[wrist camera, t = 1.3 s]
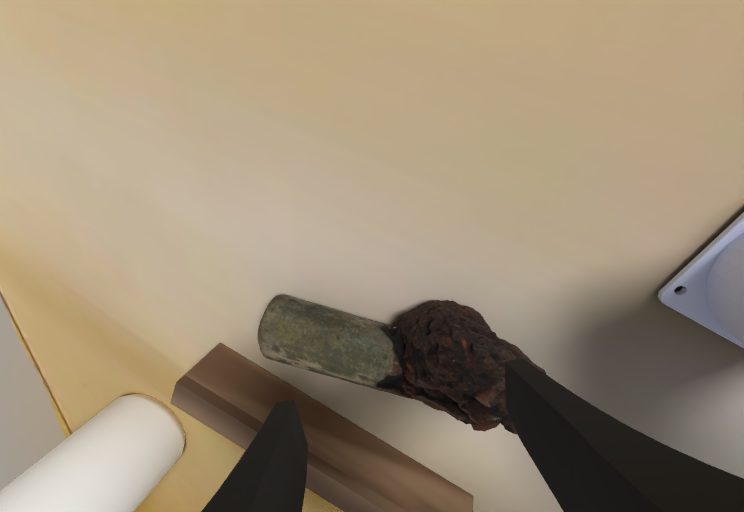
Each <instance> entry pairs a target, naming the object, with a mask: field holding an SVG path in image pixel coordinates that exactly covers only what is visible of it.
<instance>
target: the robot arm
mask: <svg viewBox="0 0 744 512" xmlns="http://www.w3.org/2000/svg"><path fill="white" fill-rule="evenodd" d="M678 286H682V289H681V290H680V291H677V292H674V290H675V288H676V287H678ZM658 298H659V300H660V301H661V302H662V303H663V304H665V305H666V306H668V307H670V308H672V309H674V310H675V311H677V312H679V313H681V314H683V315H684V316H686V317H688V318H690V319H692V320H693V321H695V322H697V323H699V324H701V325H702V326H704V327H706V328H708V329H710V330H711V331H713V332H715V333H717V334H719V335H720V336H722V337H724V338H726V339H728V340H729V341H731V342H733V343H735V344H737V345H738V346H740V347H742V348H744V212H743V213H742V214H741V215H740V216H739V217H738V218H737V219H736V220H735V221H734V222H733V223H731V224H730V225H729V226H728V227H727V228H726V229H725V230H724V231H723V232H722V233H721V234H720V235H719V236H718V237H716V238H715V239H714V240H713V241H712V242H711V243H710V244H709V245H708V246H707V247H706V248H705V249H704V250H703V251H702V252H700V253H699V254H698V255H697V256H696V257H695V258H694V259H693V260H692V261H691V262H690V263H689V264H688V265H687V266H685V267H684V268H683V269H682V270H681V271H680V272H679V273H678V274H677V275H676V276H675V277H674V278H673V279H672V280H670V281H669V282H668V283H667V284H666V285H665V286H664V287H663V288H662V289H661V290H660V291H659V293H658ZM505 391H506V409H507V412H508V414H509V416H510V418H511V421H512V423H513V425H514V427H515V429H516V431H517V434H518V436H519V438H520V439H521V441H522V443H523V445H524V446H525V448H526V450H527V451H528V453H529V455H530V456H531V458H532V460H533V461H534V463H535V465H536V466H537V468H538V470H539V471H540V473H541V475H542V476H543V478H544V480H545V481H546V483H547V484H548V486H549V488H550V489H551V491H552V493H553V494H554V496H555V498H556V499H557V501H558V503H559V504H560V506H561V508H562V509H563V511H564V512H744V479H743V478H740V477H738V476H735V475H733V474H730V473H728V472H725V471H723V470H720V469H718V468H715V467H713V466H711V465H708V464H706V463H704V462H701V461H699V460H697V459H695V458H692V457H690V456H688V455H686V454H684V453H681V452H679V451H677V450H675V449H672V448H670V447H668V446H666V445H664V444H662V443H660V442H658V441H656V440H654V439H652V438H650V437H648V436H646V435H644V434H642V433H640V432H638V431H637V430H635V429H633V428H631V427H629V426H627V425H625V424H623V423H622V422H620V421H618V420H616V419H615V418H613V417H611V416H609V415H608V414H606V413H604V412H603V411H601V410H599V409H598V408H596V407H594V406H593V405H591V404H589V403H588V402H586V401H585V400H583V399H582V398H580V397H578V396H577V395H575V394H574V393H572V392H571V391H569V390H568V389H566V388H565V387H563V386H562V385H560V384H559V383H557V382H556V381H554V380H553V379H552V378H550V377H549V376H547V375H546V374H544V373H543V372H541V371H540V370H539V369H537V368H536V367H534V366H533V365H532V364H530V363H529V362H527V361H526V360H524V359H523V358H521V359H515V360H509V361H505ZM307 457H308V443H307V440H306V437H305V433H304V430H303V427H302V424H301V420H300V417H299V414H298V410H297V407H296V404H295V400H289V401H283V402H278V403H276V404H275V405H274V407H273V408H272V410H271V411H270V413H269V415H268V416H267V418H266V420H265V421H264V423H263V424H262V426H261V428H260V429H259V431H258V433H257V434H256V436H255V437H254V439H253V440H252V442H251V443H250V445H249V447H248V448H247V450H246V451H245V453H244V454H243V456H242V457H241V459H240V460H239V462H238V463H237V465H236V466H235V467H234V469H233V470H232V472H231V473H230V474H229V476H228V477H227V479H226V480H225V481H224V483H223V484H222V485H221V487H220V488H219V490H218V491H217V492H216V494H215V495H214V496H213V497H212V499H211V500H210V501H209V503H208V504H207V505H206V506H205V508H204V509H203V510H202V511H201V512H302V506H303V499H304V492H305V485H306V478H307Z"/></svg>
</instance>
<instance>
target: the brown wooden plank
mask: <svg viewBox="0 0 744 512" xmlns="http://www.w3.org/2000/svg"><path fill="white" fill-rule="evenodd" d="M289 400H295V404H296V407H297V410H298V414H299V417H300V420H301V424H302V427H303V430H304V433H305V437H306V440H307V443H308V457H307V478H306V485H305V487H306V488H308V489H309V490H311V491H312V492H314V493H316V494H317V495H319V496H320V497H322V498H324V499H325V500H327V501H328V502H330V503H332V504H333V505H335V506H336V507H338V508H340V509H341V510H343V511H344V512H473V496H472V495H470V494H469V493H467V492H466V491H464V490H462V489H461V488H459V487H457V486H456V485H454V484H452V483H451V482H449V481H447V480H446V479H444V478H442V477H441V476H439V475H437V474H436V473H434V472H433V471H431V470H429V469H428V468H426V467H424V466H423V465H421V464H419V463H418V462H416V461H414V460H413V459H411V458H409V457H408V456H406V455H405V454H403V453H401V452H400V451H398V450H396V449H395V448H393V447H391V446H390V445H388V444H386V443H385V442H383V441H381V440H380V439H378V438H377V437H375V436H373V435H372V434H370V433H368V432H367V431H365V430H363V429H362V428H360V427H358V426H357V425H355V424H353V423H352V422H350V421H348V420H347V419H345V418H344V417H342V416H340V415H339V414H337V413H335V412H334V411H332V410H330V409H329V408H327V407H325V406H324V405H322V404H320V403H319V402H317V401H316V400H314V399H312V398H311V397H309V396H307V395H306V394H304V393H302V392H301V391H299V390H297V389H296V388H294V387H292V386H291V385H289V384H288V383H286V382H284V381H283V380H281V379H279V378H278V377H276V376H274V375H273V374H271V373H269V372H268V371H266V370H264V369H263V368H261V367H259V366H258V365H256V364H255V363H253V362H251V361H250V360H248V359H246V358H245V357H243V356H241V355H240V354H238V353H236V352H235V351H233V350H231V349H230V348H228V347H227V346H225V345H223V344H222V343H219V344H218V345H217V346H216V347H215V348H214V349H213V350H212V351H210V352H209V353H208V354H207V355H206V356H205V357H204V358H203V359H202V360H200V361H199V362H198V363H197V364H196V365H195V366H194V367H193V368H192V369H190V370H189V371H188V372H187V373H186V374H185V375H184V376H183V377H182V378H180V379H179V380H178V381H177V382H176V385H175V389H174V392H173V396H172V399H171V404H173V405H174V406H176V407H177V408H179V409H181V410H182V411H184V412H186V413H187V414H189V415H190V416H192V417H194V418H195V419H197V420H198V421H200V422H202V423H203V424H205V425H206V426H208V427H210V428H211V429H213V430H214V431H216V432H218V433H219V434H221V435H222V436H224V437H226V438H227V439H229V440H230V441H232V442H234V443H235V444H237V445H238V446H240V447H242V448H243V449H245V450H247V448H248V447H249V445H250V443H251V442H252V440H253V439H254V437H255V436H256V434H257V433H258V431H259V429H260V428H261V426H262V424H263V423H264V421H265V420H266V418H267V416H268V415H269V413H270V411H271V410H272V408H273V407H274V405H275V404H276V403H278V402H283V401H289Z"/></svg>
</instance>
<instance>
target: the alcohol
mask: <svg viewBox="0 0 744 512" xmlns="http://www.w3.org/2000/svg"><path fill="white" fill-rule="evenodd" d="M184 444H185V432H184V429H183V427H182V424H181V423H180V421H179V420H178V418H177V417H176V416H175V414H174V413H173V412H172V411H171V410H170V409H169V408H168V407H166V406H165V405H164V404H163V403H161V402H160V401H158V400H156V399H154V398H152V397H150V396H147V395H143V394H131V395H127V396H122V397H119V398H117V399H115V400H114V401H113V402H112V403H110V404H109V405H108V406H106V407H105V408H104V409H103V410H101V411H100V412H99V413H98V414H96V415H95V416H94V417H93V418H91V419H90V420H89V421H88V422H86V423H85V424H84V425H83V426H81V427H80V428H79V429H78V430H76V431H75V432H74V433H72V434H71V435H70V436H69V437H67V438H66V439H65V440H64V441H62V442H61V443H60V444H59V445H57V446H56V447H55V448H54V449H53V450H51V451H50V452H49V453H47V454H46V455H45V456H44V457H42V458H41V459H40V460H39V461H37V462H36V463H35V464H33V465H32V466H31V467H30V468H29V469H27V470H26V471H25V472H23V473H22V474H21V475H20V476H19V477H17V478H16V479H15V480H13V481H12V482H11V483H10V484H8V485H7V486H6V487H5V488H3V489H2V490H1V491H0V512H134V511H135V509H136V508H137V507H138V506H139V505H140V504H141V502H142V501H143V500H144V499H145V498H146V497H147V495H148V494H149V493H150V492H151V491H152V490H153V488H154V487H155V486H156V485H157V484H158V483H159V481H160V480H161V479H162V478H163V477H164V476H165V474H166V473H167V472H168V471H169V470H170V469H171V467H172V466H173V465H174V464H175V463H176V462H177V460H178V459H179V458H180V457H181V455H182V452H183V448H184Z"/></svg>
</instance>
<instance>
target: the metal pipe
mask: <svg viewBox="0 0 744 512" xmlns="http://www.w3.org/2000/svg"><path fill="white" fill-rule="evenodd" d="M258 343H259V346H260V350H261V352H262V354H263V356H264V357H265V358H268V359H271V360H274V361H278V362H281V363H285V364H288V365H292V366H295V367H298V368H302V369H306V370H309V371H313V372H316V373H320V374H323V375H327V376H331V377H335V378H339V379H342V380H346V381H349V382H352V383H356V384H359V385H364V386H367V387H370V388H374V389H377V390H381V391H385V392H389V393H393V394H396V395H399V396H403V397H407V398H411V399H416V400H419V401H422V402H423V403H425V404H426V405H428V406H430V407H432V408H434V409H437V410H441V411H445V412H447V413H448V414H450V415H451V416H453V417H454V418H456V419H457V420H460V421H462V422H464V423H465V424H471V425H472V427H473V429H474V430H477V431H486V430H489V429H492V428H495V427H497V426H498V425H499V424H500V423H501V424H502V425H504V427H505V429H506V430H508V431H509V432H512V433H514V434H517V431H516V429H515V427H514V425H513V423H512V421H511V418H510V416H509V414H508V412H507V409H506V391H505V361H509V360H515V359H521V358H523V359H524V360H526V361H527V362H529V363H530V364H532V365H533V366H534V367H536V368H537V369H539V370H540V371H541V372H543V373H544V374H546V372H545V370H543V369H542V368H540V367H539V366H537V365H536V364H534V363H533V362H532V361H531V360H530V359H529V358H528V357H527V356H526V355H525V354H524V353H523V352H522V351H521V350H520V349H519V348H518V347H517V346H515V345H512V344H510V343H508V342H507V341H505V340H502V339H499V338H498V337H497V336H496V333H494V332H492V331H491V329H490V327H489V326H488V324H487V323H486V322H485V320H484V319H483V317H482V316H481V314H480V313H479V312H477V311H476V310H474V309H473V308H471V307H468V306H461V305H459V304H458V303H456V302H454V301H448V300H447V301H440V300H436V301H430V302H427V303H425V304H423V305H421V306H420V307H418V308H417V309H416V310H413V311H410V312H407V313H406V314H404V316H403V317H402V318H401V320H400V321H399V322H398V325H397V327H392V326H389V325H386V324H383V323H379V322H376V321H372V320H368V319H365V318H362V317H358V316H355V315H351V314H348V313H344V312H341V311H338V310H335V309H332V308H328V307H325V306H321V305H318V304H314V303H311V302H307V301H304V300H300V299H297V298H294V297H291V296H288V295H278V296H276V297H274V298H273V299H272V301H271V302H270V303H269V305H268V306H267V308H266V310H265V312H264V314H263V317H262V319H261V321H260V325H259V329H258ZM517 435H518V434H517Z"/></svg>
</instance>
